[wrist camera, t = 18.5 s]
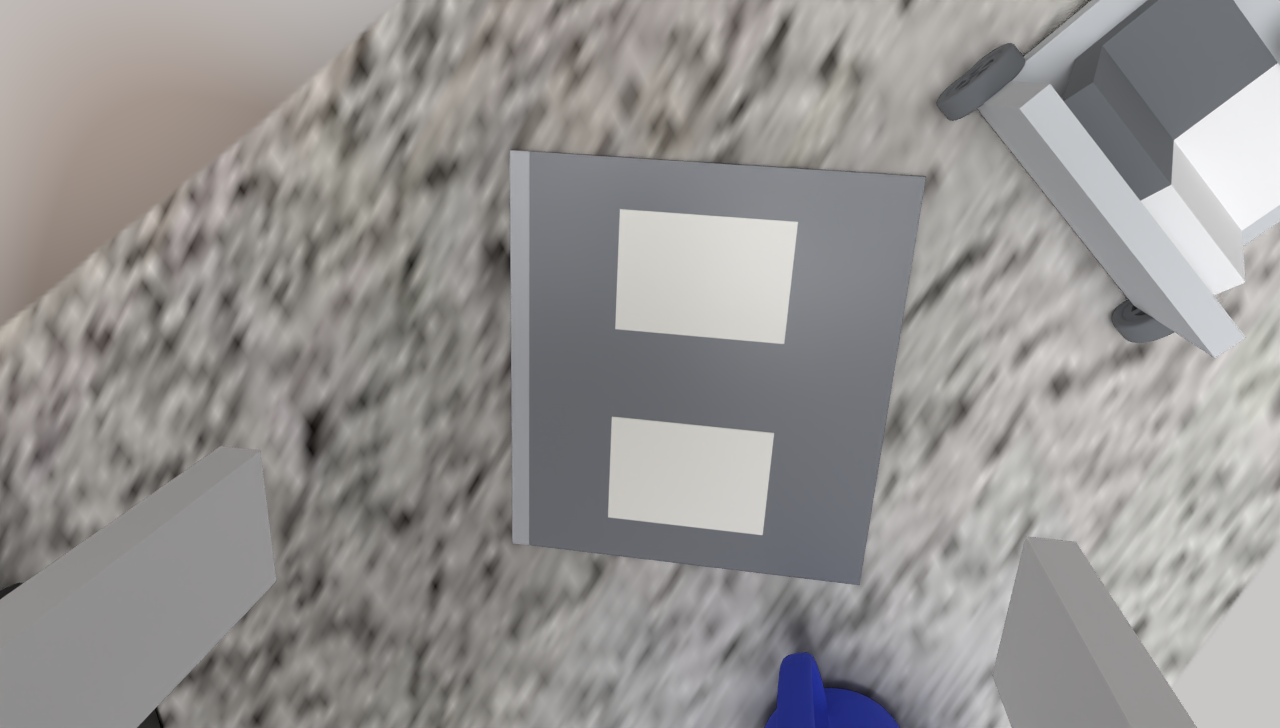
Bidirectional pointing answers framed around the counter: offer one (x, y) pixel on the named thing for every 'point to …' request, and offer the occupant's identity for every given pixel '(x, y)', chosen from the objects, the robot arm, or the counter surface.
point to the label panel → (704, 357)
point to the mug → (821, 701)
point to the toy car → (1149, 146)
